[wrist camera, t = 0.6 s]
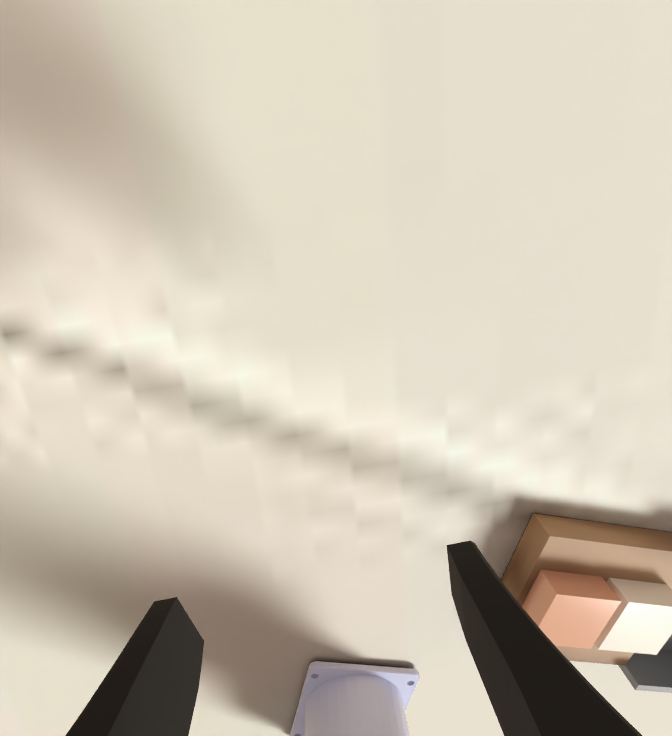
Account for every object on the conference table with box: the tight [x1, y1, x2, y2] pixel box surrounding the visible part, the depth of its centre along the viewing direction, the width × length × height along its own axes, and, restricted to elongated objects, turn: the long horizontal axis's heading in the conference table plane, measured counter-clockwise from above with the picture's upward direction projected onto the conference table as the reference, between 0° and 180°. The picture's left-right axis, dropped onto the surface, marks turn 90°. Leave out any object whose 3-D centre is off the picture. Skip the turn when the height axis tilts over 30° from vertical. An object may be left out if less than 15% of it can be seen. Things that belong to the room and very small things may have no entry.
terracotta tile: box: [522, 570, 621, 649], centre depth 23 cm, size 4×4×2 cm
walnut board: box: [501, 513, 672, 665], centre depth 25 cm, size 10×10×2 cm
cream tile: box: [594, 578, 672, 655], centre depth 24 cm, size 4×4×2 cm
